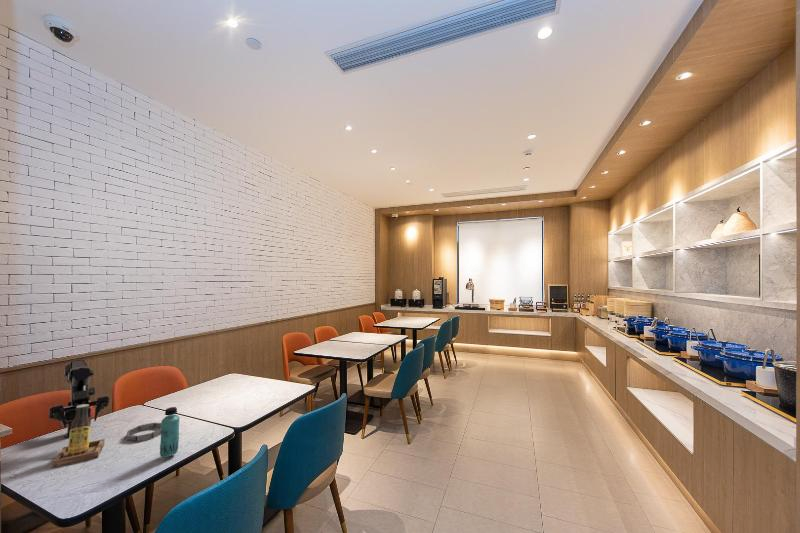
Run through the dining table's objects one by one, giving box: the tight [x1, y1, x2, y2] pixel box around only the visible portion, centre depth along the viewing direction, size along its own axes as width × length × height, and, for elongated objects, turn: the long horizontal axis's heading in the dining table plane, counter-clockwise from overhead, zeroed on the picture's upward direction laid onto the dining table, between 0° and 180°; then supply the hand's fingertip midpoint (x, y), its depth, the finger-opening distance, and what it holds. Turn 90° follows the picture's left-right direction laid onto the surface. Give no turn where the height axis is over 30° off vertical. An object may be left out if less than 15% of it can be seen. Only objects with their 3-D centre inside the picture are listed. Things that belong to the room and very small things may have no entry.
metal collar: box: [125, 421, 162, 443], centre depth 152 cm, size 14×14×2 cm
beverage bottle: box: [159, 406, 181, 458], centre depth 133 cm, size 6×7×20 cm
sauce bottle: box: [67, 404, 92, 457], centre depth 133 cm, size 7×6×20 cm
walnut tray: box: [52, 438, 105, 469], centre depth 133 cm, size 13×13×2 cm
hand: (80, 424), depth 138 cm, fingers open, 9 cm apart
